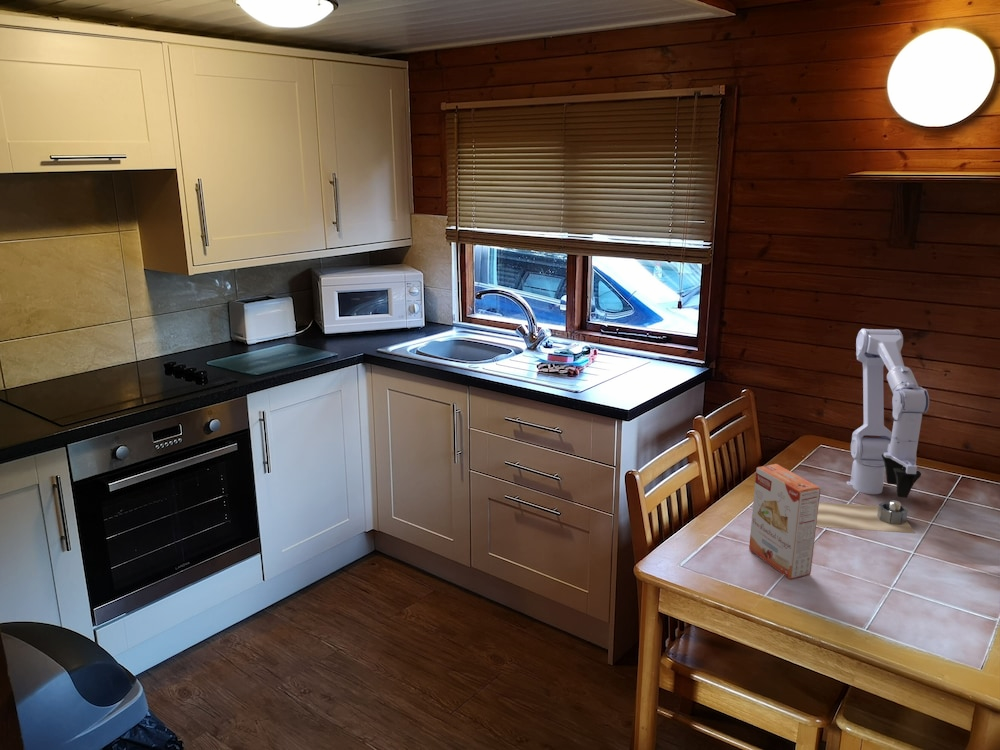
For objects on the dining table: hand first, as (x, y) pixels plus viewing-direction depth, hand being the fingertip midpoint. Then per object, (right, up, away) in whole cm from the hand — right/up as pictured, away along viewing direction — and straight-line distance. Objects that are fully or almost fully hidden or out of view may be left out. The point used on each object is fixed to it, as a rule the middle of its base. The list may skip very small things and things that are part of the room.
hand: (896, 490), depth 188 cm
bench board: (-8, -8, +4) cm, 12 cm away
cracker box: (-34, -14, -15) cm, 40 cm away
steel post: (0, -7, +2) cm, 8 cm away
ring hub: (0, -7, +2) cm, 8 cm away
